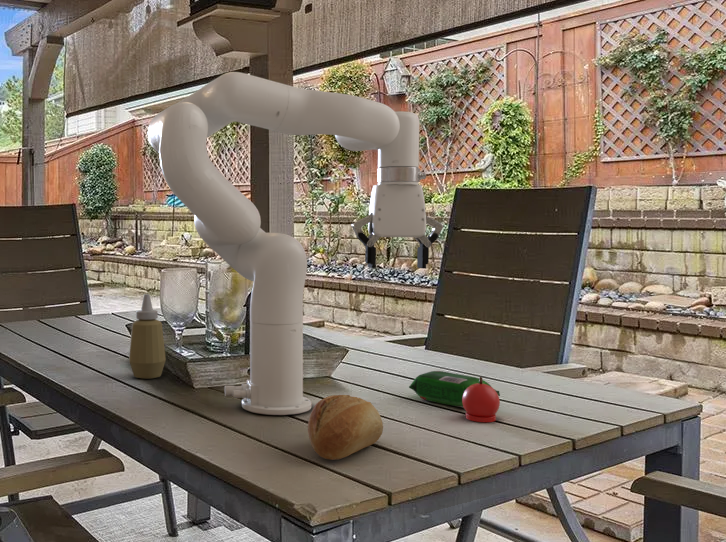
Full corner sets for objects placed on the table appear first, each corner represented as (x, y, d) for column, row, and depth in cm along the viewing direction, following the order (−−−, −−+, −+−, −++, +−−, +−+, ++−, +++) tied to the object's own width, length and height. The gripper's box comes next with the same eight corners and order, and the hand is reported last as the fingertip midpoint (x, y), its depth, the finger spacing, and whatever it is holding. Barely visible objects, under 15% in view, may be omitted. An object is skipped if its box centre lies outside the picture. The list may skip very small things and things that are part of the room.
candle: (471, 423, 125) (471, 380, 125) (456, 414, 131) (456, 373, 131) (506, 422, 125) (506, 380, 125) (489, 413, 131) (489, 373, 131)
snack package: (478, 415, 131) (478, 385, 131) (406, 397, 143) (406, 370, 143) (502, 409, 135) (502, 380, 135) (429, 393, 147) (430, 366, 147)
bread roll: (291, 459, 106) (291, 403, 106) (334, 434, 119) (334, 384, 119) (355, 471, 101) (355, 412, 101) (393, 444, 113) (393, 391, 113)
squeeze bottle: (164, 380, 160) (164, 296, 160) (126, 380, 160) (126, 296, 160) (166, 372, 168) (166, 292, 168) (130, 373, 169) (130, 292, 168)
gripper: (435, 179, 147) (434, 267, 147) (348, 178, 146) (346, 266, 147) (450, 177, 139) (448, 269, 140) (357, 176, 139) (356, 268, 139)
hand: (396, 267), depth 143 cm, fingers open, 9 cm apart
